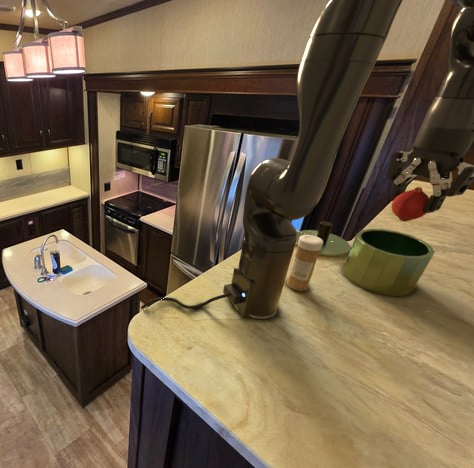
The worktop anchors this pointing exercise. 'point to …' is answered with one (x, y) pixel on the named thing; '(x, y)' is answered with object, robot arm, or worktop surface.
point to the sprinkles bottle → (304, 262)
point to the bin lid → (327, 240)
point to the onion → (410, 204)
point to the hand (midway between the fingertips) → (411, 205)
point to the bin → (387, 261)
